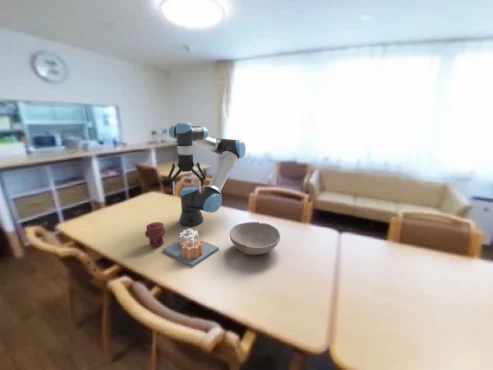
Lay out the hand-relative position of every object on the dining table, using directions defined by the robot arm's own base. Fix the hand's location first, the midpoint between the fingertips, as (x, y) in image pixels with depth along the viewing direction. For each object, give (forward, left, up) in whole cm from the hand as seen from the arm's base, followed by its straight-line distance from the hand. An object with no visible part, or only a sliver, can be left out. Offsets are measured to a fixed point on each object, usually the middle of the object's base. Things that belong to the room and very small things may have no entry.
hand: (187, 193), depth 128 cm
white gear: (+6, +7, -25) cm, 27 cm away
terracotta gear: (+12, +16, -25) cm, 32 cm away
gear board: (+9, +11, -27) cm, 30 cm away
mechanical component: (+16, -8, -27) cm, 32 cm away
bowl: (-12, +37, -27) cm, 47 cm away
